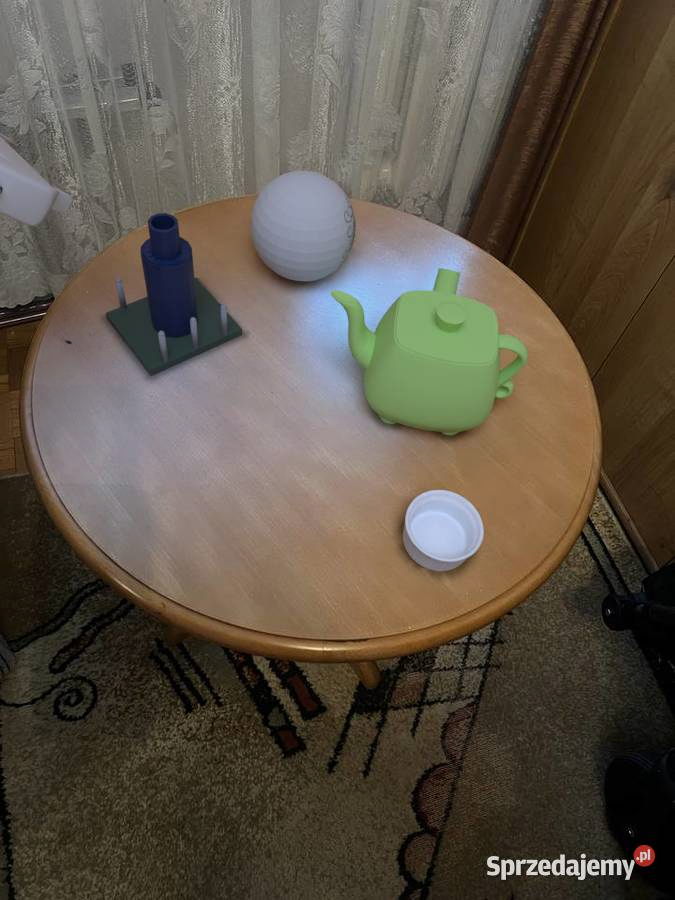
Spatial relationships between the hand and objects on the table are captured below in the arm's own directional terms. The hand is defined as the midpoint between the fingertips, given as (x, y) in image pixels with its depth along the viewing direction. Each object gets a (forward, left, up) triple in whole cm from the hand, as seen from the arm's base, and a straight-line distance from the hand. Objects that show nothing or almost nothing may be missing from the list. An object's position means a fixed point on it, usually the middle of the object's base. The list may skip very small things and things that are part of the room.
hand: (39, 177), depth 62 cm
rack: (+12, +1, -27) cm, 30 cm away
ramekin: (+20, -44, -28) cm, 56 cm away
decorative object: (+34, +2, -28) cm, 44 cm away
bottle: (+12, +1, -26) cm, 29 cm away
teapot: (+34, -24, -28) cm, 50 cm away
